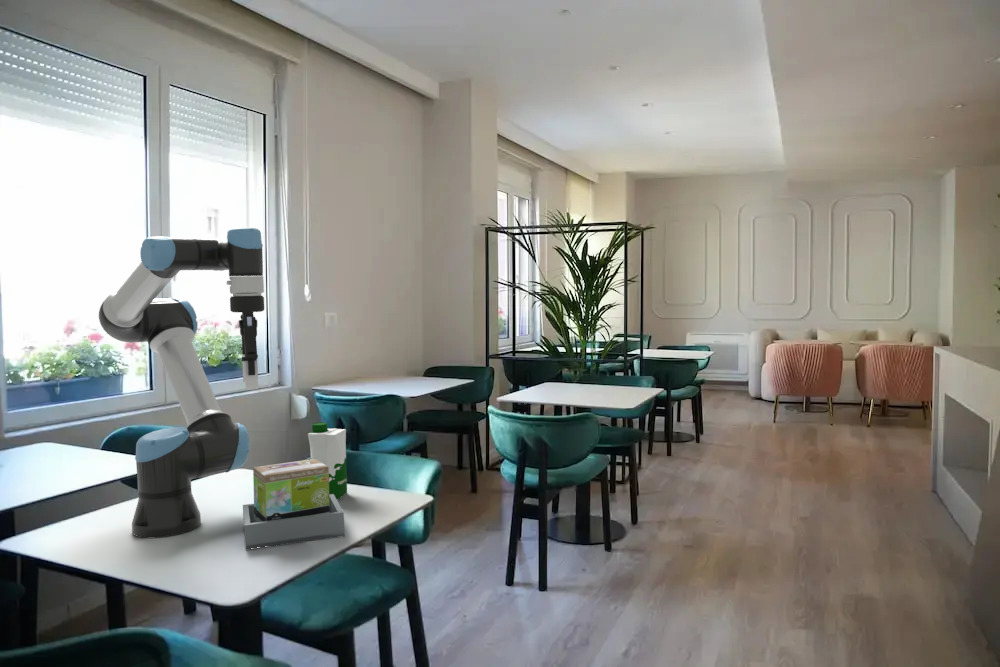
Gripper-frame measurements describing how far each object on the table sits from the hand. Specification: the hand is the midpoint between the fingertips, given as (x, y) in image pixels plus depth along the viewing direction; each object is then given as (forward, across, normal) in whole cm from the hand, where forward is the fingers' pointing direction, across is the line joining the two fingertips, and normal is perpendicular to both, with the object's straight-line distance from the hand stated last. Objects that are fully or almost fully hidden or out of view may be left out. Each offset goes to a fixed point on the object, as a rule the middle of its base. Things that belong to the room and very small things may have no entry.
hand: (250, 385), depth 174 cm
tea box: (+33, +7, +8) cm, 35 cm away
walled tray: (+34, +7, +8) cm, 36 cm away
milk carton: (+35, -19, +20) cm, 44 cm away
